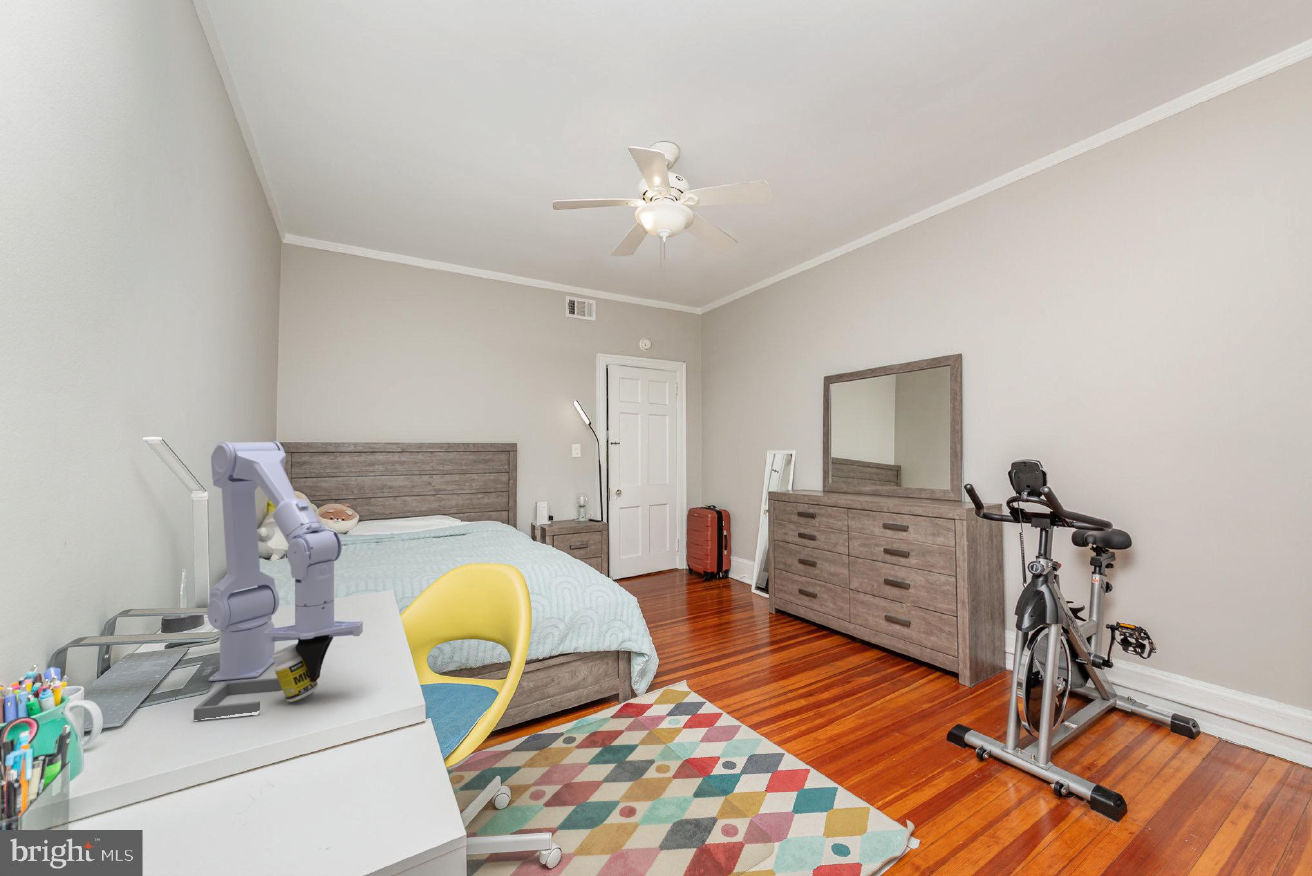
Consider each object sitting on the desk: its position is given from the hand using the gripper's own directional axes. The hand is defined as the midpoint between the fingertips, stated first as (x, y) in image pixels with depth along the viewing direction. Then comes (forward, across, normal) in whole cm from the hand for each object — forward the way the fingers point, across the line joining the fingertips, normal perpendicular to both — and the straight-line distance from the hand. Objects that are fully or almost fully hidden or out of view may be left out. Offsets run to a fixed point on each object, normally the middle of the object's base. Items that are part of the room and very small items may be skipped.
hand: (315, 679), depth 92 cm
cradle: (+3, -11, 0) cm, 12 cm away
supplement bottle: (+2, -2, 0) cm, 3 cm away
